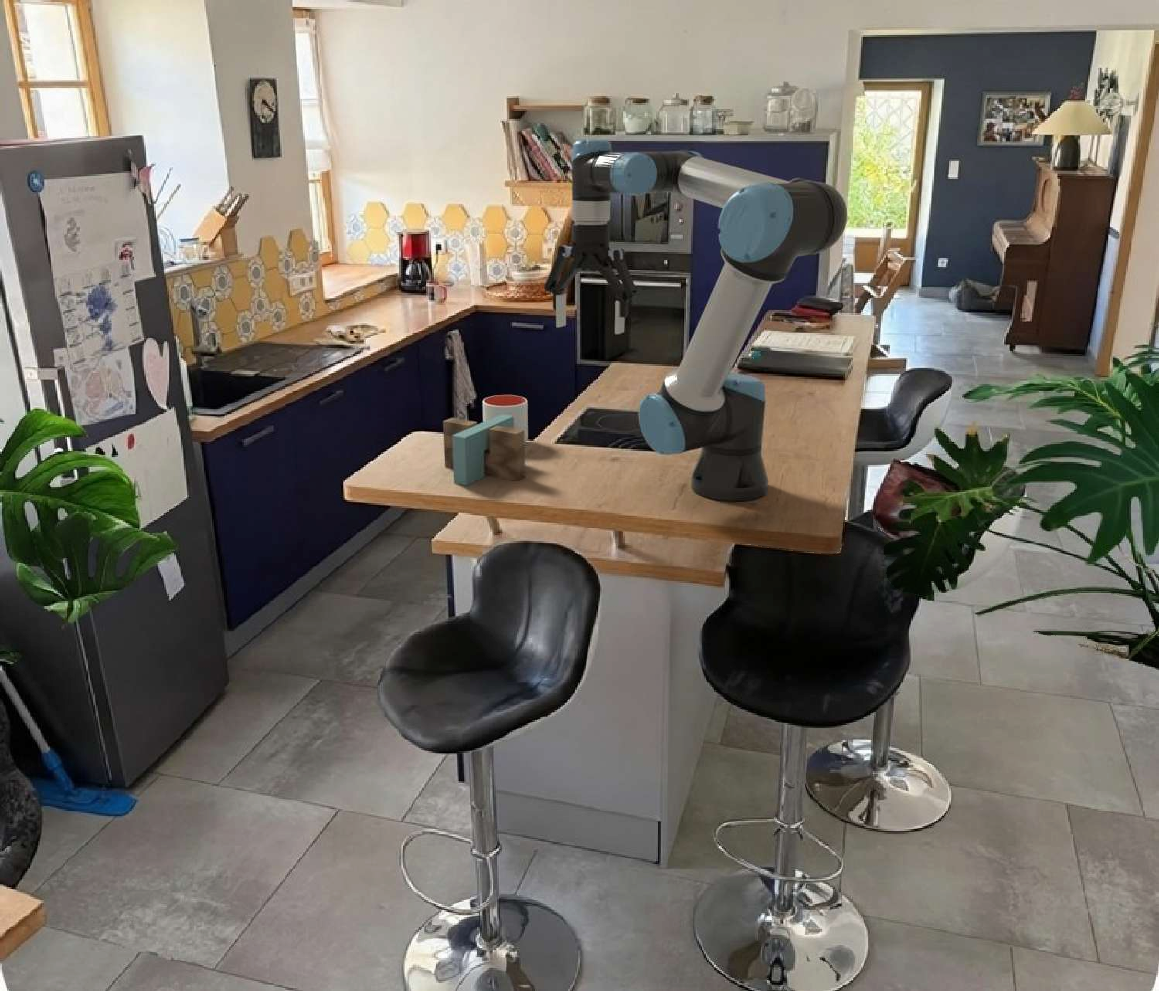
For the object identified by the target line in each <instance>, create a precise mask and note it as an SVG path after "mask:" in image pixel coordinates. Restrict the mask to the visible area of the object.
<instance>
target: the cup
mask: <svg viewBox="0 0 1159 991" xmlns="http://www.w3.org/2000/svg"><path fill="white" fill-rule="evenodd" d="M528 406H529V404H528V400H527V398H525V397H523V396H519V395H514V394H501V395H499V394H498V395H492V396H488V397H485V398H483V400H482V423H483V422H485V421H487V420H490V419H492V418H494V417H496V416H499V415H501V414H504V415H510V416H514V429H520V430H524V444H526V443H527V441H528V439H529V425H528V424H529V422H528V420H529V419H528V416H529V414H528V409H529V407H528Z"/></svg>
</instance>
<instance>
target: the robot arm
mask: <svg viewBox="0 0 1159 991" xmlns="http://www.w3.org/2000/svg"><path fill="white" fill-rule="evenodd" d="M570 163H571V196H572V198H571V220H572V221H573V222H574V223H573V224H572V225H571V242H572V246H569V245H568V244H565V245H560V246H558V248H557V253H556V254H557V255H556V256H557V257H556V259H555V261H554V263H553V266H552V268H551V270H550V272H549V275H548V277H547V279H546V281H545V284H544V286H543V289H544V291H546V292H550V293H551V295H552V309H553V311H555V314H556V316H555V322H556V323H555V324H556V325H555V327H556V328H561V327H562V328H563V327H564V326H567V294H566V293H564V291H565V289H566V288H567V287H568V285H569V284H570V283H571V281H572V280H573V279H574V278H575V276H577V274H578V273H579V271H580V270H581V271H590V272H598V273H599V274H601V275H602V276H603V278H604V279H605V281H606V282H607V284H608V285H609V287H610V288H611V289H612V291H613V292H614V294H615V295H616V297H617V298H618V300H616V301H615V303H614V306H615V308H614V311H615V312H614V316H615V317H614V334H615V335H620V334H623V333H624V332H625V320H626V319H625V318H627V317H628V316H629V306H630V305H629V302H630V300H631V299H634V298H635V299H636V298H637V297H638V296H639V293H638V290H637V287H636V285H635V283H634V280H633V277H632V275H631V273H630V270H629V268H628V264H627V262H626V259H625V250H624V249H623V248H618V249H613V250H611V249H610V240H611V234H610V232H611V226H610V224H609V223H608V222H609V221H610V220H611V194H617V195H624V196H626V197H631V196H643V195H645V194H656V193H657V194H658V193H674V194H676V195H680V196H684V197H686V198H689V199H690V198H691V199H693V200H697V201H700V202H703V203H705V204H707V205H712V206H714V207H718V208H720V209H722V210H721V213H720V215H719V217H718V219H719V220H718V223H717V224H718V227H717V229H719V230H720V232H719V234H718V240H719V244H720V247H721V248H720V255H721V257H722V260H723V261H724V265H723V267H722V269H721V272H720V274H719V276H718V279H717V280H716V283H715V286H714V287H713V290H712V292H711V294H710V296H709V299H708V301H707V303H706V306H705V307H704V311H703V312H702V315H701V317H700V319H699V321H698V323H697V326H696V328H695V330H694V333H693V336H692V337H691V340H690V342H689V344H688V347H687V349H686V350H685V353H684V355H683V357H682V360H681V362H680V364H679V367H678V368H677V369H673V370H671V371H670V372H668V374H666V376H665V377H664V381H663V383H662V385H661V387H660V389H659V391H658V392H657V393H655V392H653V393H650V394H648V395H646V396H645V397H644V398H643V399H642V400H641V401H640V404H639V408H638V422H639V427H640V431H641V434H642V436H643V438H644V440H645V442H646V443H647V445H648V446H649V447H650V448H651V449H652V450H653V451H654V452H656V453H658V454H660V455H664V456H669V455H681V454H682V453H686V452H690V451H693V450H694V451H695V450H698V449H701V451H700V454H699V456H698V458H697V460H696V464H695V466H694V468H693V471H692V474H691V478H690V479H691V484H690V485H691V486H690V487H691V490H692V491H693V492H694V493H696V494H698V495H700V496H702V497H706V498H709V499H713V500H717V501H726V502H728V501H729V502H741V501H740V500H745V501H751V499H752V500H755V498H756V499H758V498H757V497H759V498H761V496H762V497H764V496H765V495H766V494H767V493H768V488H769V479H768V475H767V471H766V467H765V463H764V460H763V459H764V458H763V455H762V444H763V434H764V422H765V421H764V420H765V410H766V409H765V408H766V403H767V400H766V386H765V384H764V382H763V381H762V380H761V379H759V378H757V377H754V376H751V375H746V374H742V373H735V372H731V371H732V368H733V366H734V364H735V362H736V360H737V358H738V356H739V354H740V352H741V350H742V347H743V346H744V344H745V342H746V340H747V337H748V336H749V334H750V331H751V329H752V327H753V324H754V322H755V320H756V318H757V316H758V315H759V312H760V310H761V309H762V306H763V304H764V302H765V301H766V298H767V296H768V294H769V292H770V289H771V288H772V285H773V284H776V283H781V282H782V281H784V280H785V279H786V277H787V276H788V274H789V271H790V269H791V268H792V266H793V263H794V262H795V259H796V258H798V257H804V256H811V255H817V254H820V253H823V252H825V251H826V250H829V249H830V248H831V247H832V246H834V245H835V244H837V242H838V241H839V240H840V238H841V236H842V235H843V233H844V231H845V229H846V227H847V226H846V225H847V221H848V208H847V204H846V202H845V199H844V198H843V196H842V195H841V193H840V191H838V190H837V189H836V188H835V187H833V186H832V185H830V184H828V183H825V182H820V181H813V180H810V179H805V178H801V177H798V178H797V177H796V178H793V179H791V180H785V179H782V178H777V177H773V176H770V175H766V174H762V173H760V172H759V173H758V172H755V171H752V170H748V169H744V168H740V167H737V166H734V165H729V164H727V163H726V164H725V163H723V162H720V161H715V160H711V159H708V158H704V157H703V154H701V153H700V152H698V151H695V150H694V151H691V150H685V149H681V150H677V151H674V150H673V151H613V150H612V143H611V141H609V140H606V139H577V140H575V141H574V143H573V144H572V158H571V162H570ZM570 256H571V257H572V258H573V260H572V262H571V263H570V265H569V266H568V269H567V270H566V271H565V273H564V274H563V275H562V272H563V271H564V268H565V266H566V263H567V261H568V259H569V257H570ZM609 259H611V261H613V264H614V267H615V269H616V272H617V274H618V276H619V278H618V276H617V274H616V273H615V272H614V270H613V267H612V265H611V263H609V261H608V260H609ZM561 275H562V276H561ZM766 492H767V493H766ZM765 493H766V494H765ZM764 494H765V495H764Z"/></svg>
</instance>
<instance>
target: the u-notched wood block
mask: <svg viewBox="0 0 1159 991" xmlns="http://www.w3.org/2000/svg"><path fill="white" fill-rule="evenodd" d="M476 425H478V422H477V421H473V420H466V419H460V418H456V417H450V418H448V419H446V420H443V421H442V426H443V428H442V429H443V449H444V450H443V451H444V467H445V468H450V469H453V443H452V436H453V435H455V434H457V433H459V432H462V431H464V430H466V429H469V428H471V427H473V426H476ZM489 440H490V450H489V449H487V450H484V476H489V477H495V478H499V479H505V480H509V481H513V482H514V481H515V482H518V481H520V480H522V479H523V478H526V468H525V467H526V465H525V463H526V462H525V461H526V460H525V458H526V454H525V446H526V445H525V444H526V443H525V444H524V430H520V429H514V428H508V427H502V426H495V427H493V428H491V429H489Z"/></svg>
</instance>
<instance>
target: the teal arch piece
mask: <svg viewBox="0 0 1159 991" xmlns="http://www.w3.org/2000/svg"><path fill="white" fill-rule="evenodd" d="M495 426H502V427H508V428H514V416H510V415H504V414H501V415H499V416H496V417H494V418H492V419H490V420H487V421H485V422H483V421H482V422H480V423H479V424H478V423H477V425H476V426H473V427H471V428H469V429H466V430H464V431H462V432H459V433H457V434H455V435H453V436H452V443H453V468H452V469H453V483H454V484H457V485H461V486H462V485H463V486H468V485H470V484H472V483H474V482H477V481H478V480H480V479H481V478H484V477H485V475H484V450H487V449H489V450H490V440H489V429H491V428H493V427H495Z"/></svg>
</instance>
